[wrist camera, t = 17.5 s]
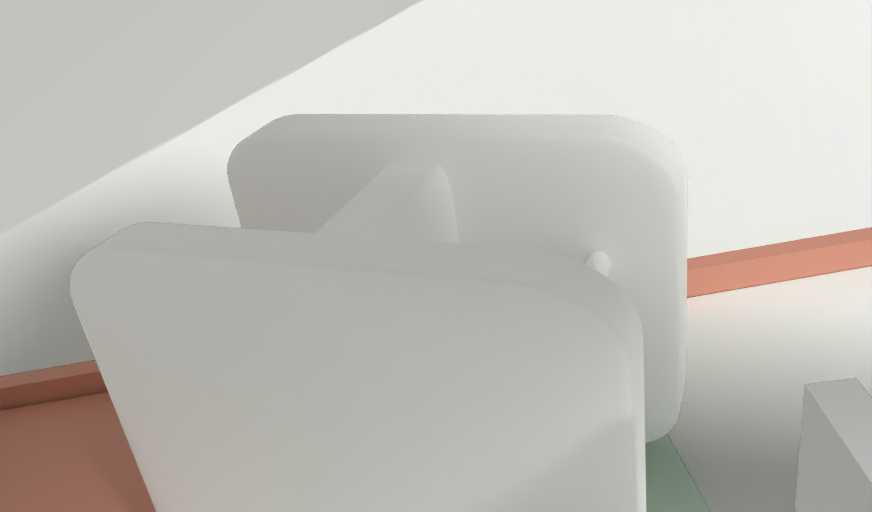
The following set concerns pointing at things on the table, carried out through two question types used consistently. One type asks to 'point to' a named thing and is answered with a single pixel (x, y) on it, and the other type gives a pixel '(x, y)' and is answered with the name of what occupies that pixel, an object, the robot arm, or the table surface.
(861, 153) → the table surface
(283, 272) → the cable organizer
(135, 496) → the divided tray
